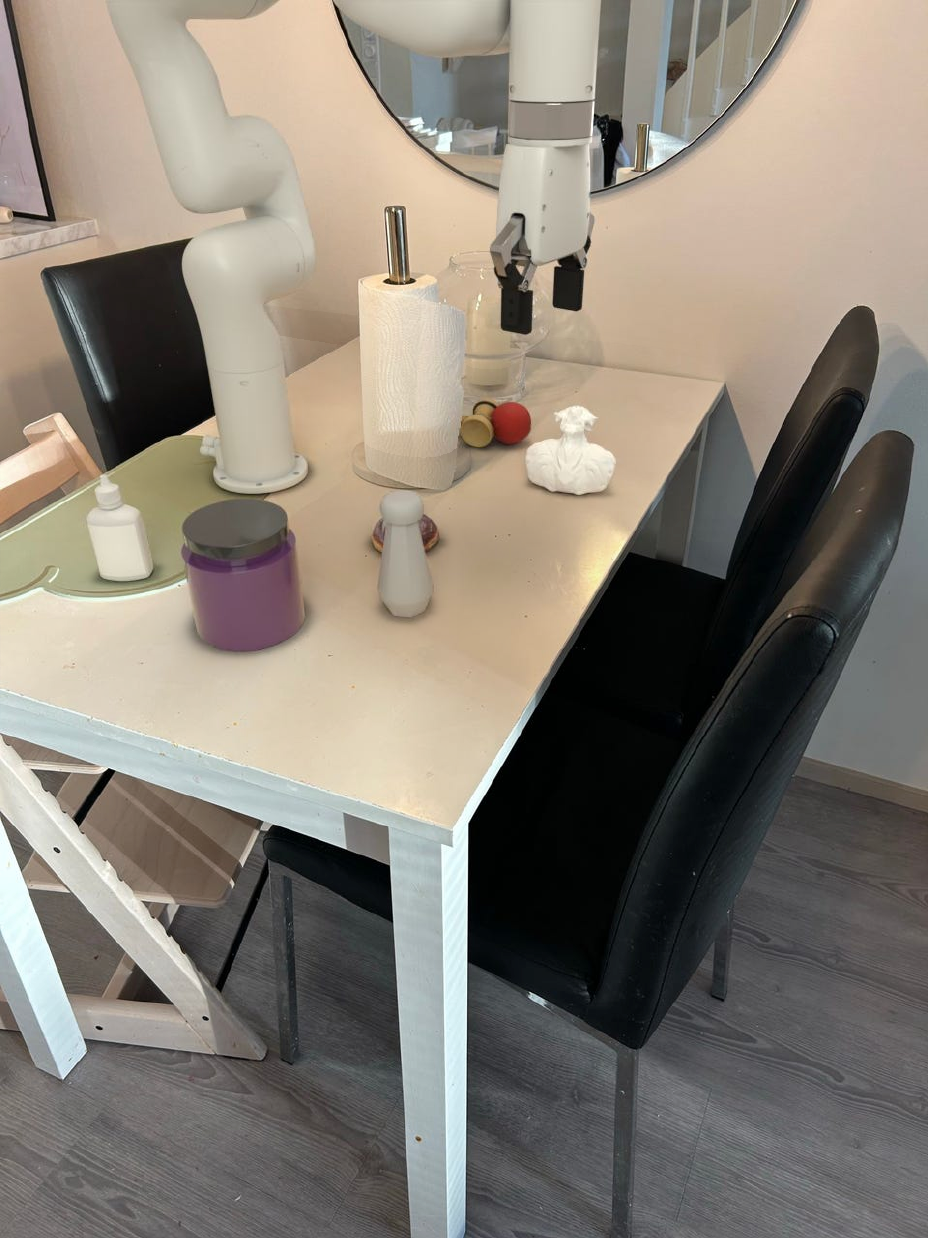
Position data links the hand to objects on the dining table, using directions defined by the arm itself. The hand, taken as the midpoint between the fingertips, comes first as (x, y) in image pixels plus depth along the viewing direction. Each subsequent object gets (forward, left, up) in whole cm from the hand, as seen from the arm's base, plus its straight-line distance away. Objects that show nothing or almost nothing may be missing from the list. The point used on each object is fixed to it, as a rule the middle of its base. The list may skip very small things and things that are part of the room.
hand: (542, 319), depth 89 cm
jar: (-23, -23, -27) cm, 42 cm away
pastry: (-15, -2, -27) cm, 31 cm away
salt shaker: (-9, -15, -27) cm, 32 cm away
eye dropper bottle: (-41, -20, -27) cm, 53 cm away
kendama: (-19, +30, -27) cm, 44 cm away
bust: (-1, +20, -27) cm, 33 cm away
